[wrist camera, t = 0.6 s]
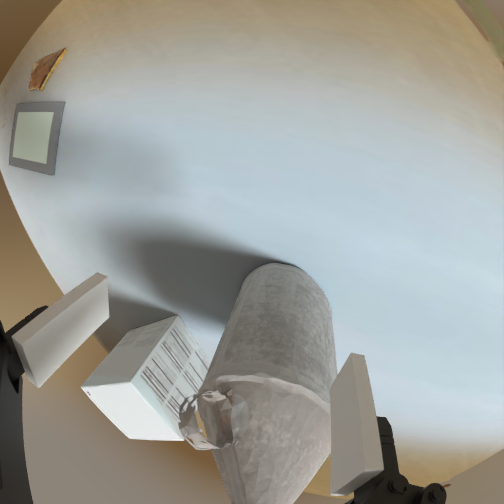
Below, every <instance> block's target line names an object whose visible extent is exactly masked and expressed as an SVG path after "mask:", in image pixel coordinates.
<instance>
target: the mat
mask: <svg viewBox="0 0 504 504" xmlns="http://www.w3.org/2000/svg"><path fill="white" fill-rule="evenodd" d="M64 106H65V102H36V103H20V104H17V105H16V111H15V116H14V122H13V129H12V137H11V145H10V156H9V165H12V166H16V167H20V168H24V169H28V170H32V171H36V172H40V173H44V174H48V175H54V172H55V162H56V153H57V146H58V139H59V132H60V126H61V121H62V115H63V110H64Z"/></svg>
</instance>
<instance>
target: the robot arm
mask: <svg viewBox="0 0 504 504" xmlns="http://www.w3.org/2000/svg"><path fill="white" fill-rule="evenodd" d="M108 318H109V300H108V277H107V276H105V275H102V274H100V273H98V272H97V273H96V274H94V275H93V276H91V277H90V278H89V279H87V280H86V281H84V282H83V283H81V284H80V285H79V286H77V287H76V288H74V289H73V290H72V291H70V292H69V293H67V294H66V295H65V296H63V297H62V298H61V299H59V300H58V301H56V302H55V303H54V304H53V305H51V306H50V307H48V306H43V307H40V308H37V309H36V310H35V311H33V312H32V313H31V314H30V315H28V316H27V317H25V319H23V320H21V321H20V322H19V323H17V324H16V325H15V326H14V327H12V328H11V329H10V330H8V331H7V332H6V333H5V332H4V329H3V326H2V323H1V321H0V504H33V500H32V496H31V491H30V486H29V480H28V474H27V468H26V461H25V452H24V441H23V426H22V425H23V424H22V384H23V379H22V376H21V375H22V374H23V373H24V372H25V373H26V376H27V378H28V380H29V381H30V382H32V383H33V384H34V385H35V386H37V387H38V388H40V387H41V385H42V384H43V383H44V382H45V381H46V380H47V379H48V378H49V377H50V376H51V375H52V374H53V373H54V372H55V371H56V370H57V369H58V367H60V365H61V364H62V363H63V362H64V361H65V360H66V359H67V358H68V357H69V356H70V355H71V354H72V353H73V352H74V351H75V350H76V349H77V348H78V347H79V346H80V345H81V344H82V343H83V342H84V341H85V340H86V339H87V338H88V337H89V336H90V335H91V334H92V333H93V332H94V331H95V330H96V329H98V328H99V327H100V326H101V325H102V324H103V323H104V322H105V321H106V320H107V319H108ZM330 413H331V490H330V495H336V496H347V495H349V494H350V493H352V492H354V498H353V499H351V500H350V501H348V502H346V503H345V504H445V501H446V491H445V489H444V487H443V486H442V485H440V484H438V483H432V484H429V485H428V486H427V487H425V488H423V487H419V486H415V485H411V484H409V483H408V480H407V479H406V478H405V477H404V476H403V475H401V474H400V473H399V469H398V462H397V456H396V450H395V445H394V439H393V433H392V428H391V425H390V424H389V422H388V420H387V419H386V417H377V416H376V411H375V406H374V400H373V395H372V390H371V385H370V380H369V375H368V370H367V366H366V361H365V357H364V355H359V354H354V353H351V354H350V355H349V357H348V359H347V360H346V362H345V364H344V366H343V367H342V369H341V371H340V372H339V374H338V376H337V377H336V379H335V380H334V382H333V384H332V385H331V387H330Z"/></svg>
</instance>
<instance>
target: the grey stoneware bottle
mask: <svg viewBox="0 0 504 504" xmlns="http://www.w3.org/2000/svg"><path fill="white" fill-rule="evenodd" d="M337 376H338V374H337V363H336V352H335V343H334V334H333V325H332V311H331V308H330V305H329V302H328V300H327V298H326V296H325V294H324V293H323V291H322V289H321V288H320V287H319V286H318V284H317V283H316V282H315V281H314V280H313V279H312V278H311V277H310V276H309V275H307V274H306V273H305V272H304V271H302V270H301V269H299V268H297V267H295V266H290V265H285V264H280V263H270V264H265V265H262V266H260V267H258V268H256V269H255V270H254V271H252V272H251V273H250V274H249V275H248V276H247V277H246V278H245V280H244V282H243V283H242V286H241V289H240V292H239V295H238V297H237V300H236V302H235V305H234V307H233V310H232V312H231V315H230V317H229V320H228V322H227V325H226V327H225V330H224V332H223V335H222V337H221V340H220V342H219V344H218V347H217V350H216V352H215V355H214V357H213V360H212V362H211V364H210V367H209V369H208V372H207V374H206V377H205V379H204V382H203V384H202V386H201V387H200V388H199V391H198V394H193V395H191V396H193V398H194V399H193V400H192V401H191V402H189V404H188V406H187V409H186V412H182V410H183V407H184V405H185V404H186V403H187V401H188V400H189V399H188V398H189V397H187V398H185V399H184V402H183V403H182V404H181V406H180V407H179V418H180V420H181V422H179V423H178V425H179V430H180V432H181V434H182V436H183V437H184V438H185V439H186V440H187V441H188V442H189V443H190V444H191V445H192V446H193V447H194V448H195V449H197V450H209V449H211V450H212V453H213V456H214V459H215V462H216V465H217V467H218V470H219V473H220V476H221V479H222V481H223V484H224V486H225V489H226V492H227V494H228V496H229V499H230V501H231V503H232V504H293V503H294V502H295V500H296V499H297V498H298V497H299V495H300V494H301V493H302V492H303V490H304V489H305V488H306V486H307V485H308V484H309V482H310V481H311V479H312V478H313V477H314V475H315V474H316V473H317V471H318V470H319V468H320V467H321V465H322V464H323V463H324V461H325V460H326V458H327V457H328V455H329V454H330V452H331V413H330V387H331V385H332V384H333V382H334V380H335V379H336V377H337ZM191 396H190V397H191ZM196 398H197V406H198V411H199V414H200V417H201V420H202V421H203V423H204V427H205V431H206V434H207V437H208V440H209V441H208V440H207V439H206V437H205V436H204V435H203V434H201V433H202V430H201V429H200V428H198V425H197V420H196V406H195V405H194V407H191V405H192V404H193V402H194V401H195V400H196ZM181 412H182V413H181ZM184 429H185V430H184ZM185 436H186V437H188V438H190V439H192V440H193V443H194V445H193V444H192V443H191V442H190V441H189V440H188V439H187V438H186V437H185ZM200 440H201V441H200ZM197 447H200V448H197Z"/></svg>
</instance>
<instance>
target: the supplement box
mask: <svg viewBox="0 0 504 504" xmlns="http://www.w3.org/2000/svg"><path fill="white" fill-rule="evenodd" d="M210 364H211V363H210V362H209V360H208V359H207V357H206V356H205V355H204V353H203V352H202V350H201V349H200V347H199V346H198V344H197V343H196V341H195V340H194V338H193V337H192V335H191V334H190V332H189V331H188V329H187V327H186V326H185V324H184V323H183V321H182V320H181V318H180V317H179V315H176V316H172V317H169V318H166V319H163V320H160V321H157V322H154V323H151V324H148V325H145V326H142V327H139V328H136V329H133V330H130V331H128V332H127V334H126V335H125V336H124V337H123V338H122V339H121V340H120V342H119V343H118V344H117V345H116V346H115V347H114V348H113V350H112V351H111V352H110V353H109V354H108V355H107V356H106V358H105V359H104V360H103V361H102V362H101V363H100V365H99V366H98V367H97V368H96V369H95V370H94V371H93V373H92V374H91V375H90V376H89V377H88V379H87V380H86V381H85V382H84V383H83V385H82V386H81V388H82V389H83V391H84V392H85V393H86V394H87V395H88V397H89V398H90V399H91V400H92V401H93V402H94V403H95V404H96V406H97V407H98V408H99V409H100V410H101V411H102V412H103V413H104V414H105V415H106V416H107V417H108V418H109V419H110V420H111V421H112V422H113V423H114V424H115V425H116V426H117V427H118V428H119V429H120V430H121V431H122V432H123V433H124V434H125V435H126V436H127V437H128V438H130V439H145V440H174V441H175V440H177V441H183V440H184V437H183V436H182V434H181V432H180V430H179V425H178V423H179V422H181V420H180V418H179V407H180V406H181V404H182V403H183V402H184V399H185V398H187V397H189V398H188V399H189V400H188V401H187V403H186V404H185V405H184V407H183V410H182V412H186V409H187V406H188V404H189V402H191V401H192V400H193V399H194V398H193V396H191V395H193V394H198V391H199V388H200V387H201V386H202V384H203V382H204V379H205V377H206V374H207V372H208V369H209V367H210ZM190 396H191V397H190ZM194 405H195V406H196V410H197V408H198V406H197V398H196V400H195V401H194V402H193V404H192V405H191V407H194ZM182 412H181V413H182ZM184 430H185V429H184Z"/></svg>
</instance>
